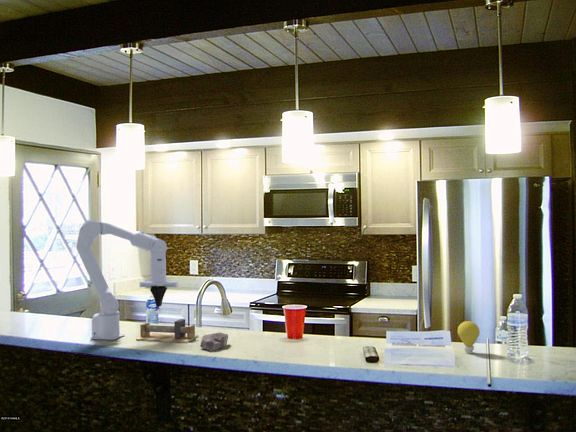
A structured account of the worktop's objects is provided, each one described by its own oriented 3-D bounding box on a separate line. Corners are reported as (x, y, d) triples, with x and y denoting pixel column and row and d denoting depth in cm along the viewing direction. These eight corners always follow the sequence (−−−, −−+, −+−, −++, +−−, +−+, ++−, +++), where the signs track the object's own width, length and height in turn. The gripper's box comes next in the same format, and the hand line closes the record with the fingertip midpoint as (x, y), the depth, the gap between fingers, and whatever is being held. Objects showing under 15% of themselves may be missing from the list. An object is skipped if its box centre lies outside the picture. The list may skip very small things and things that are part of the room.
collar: (174, 338, 207) (174, 321, 207) (181, 335, 212) (180, 319, 212) (179, 338, 207) (179, 321, 207) (185, 335, 212) (185, 319, 212)
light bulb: (462, 349, 188) (462, 318, 188) (483, 352, 184) (482, 320, 184) (454, 353, 183) (453, 321, 183) (475, 356, 179) (474, 323, 179)
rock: (196, 351, 191) (196, 337, 191) (207, 343, 202) (207, 330, 202) (219, 352, 190) (219, 338, 190) (229, 344, 201) (229, 331, 201)
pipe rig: (135, 340, 209) (135, 326, 209) (149, 334, 218) (149, 321, 218) (186, 342, 203) (186, 328, 203) (198, 336, 213) (198, 323, 213)
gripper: (136, 271, 218) (136, 307, 218) (173, 271, 216) (173, 307, 216) (143, 269, 225) (143, 304, 225) (179, 269, 223) (179, 305, 223)
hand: (158, 306), depth 220 cm, fingers closed
